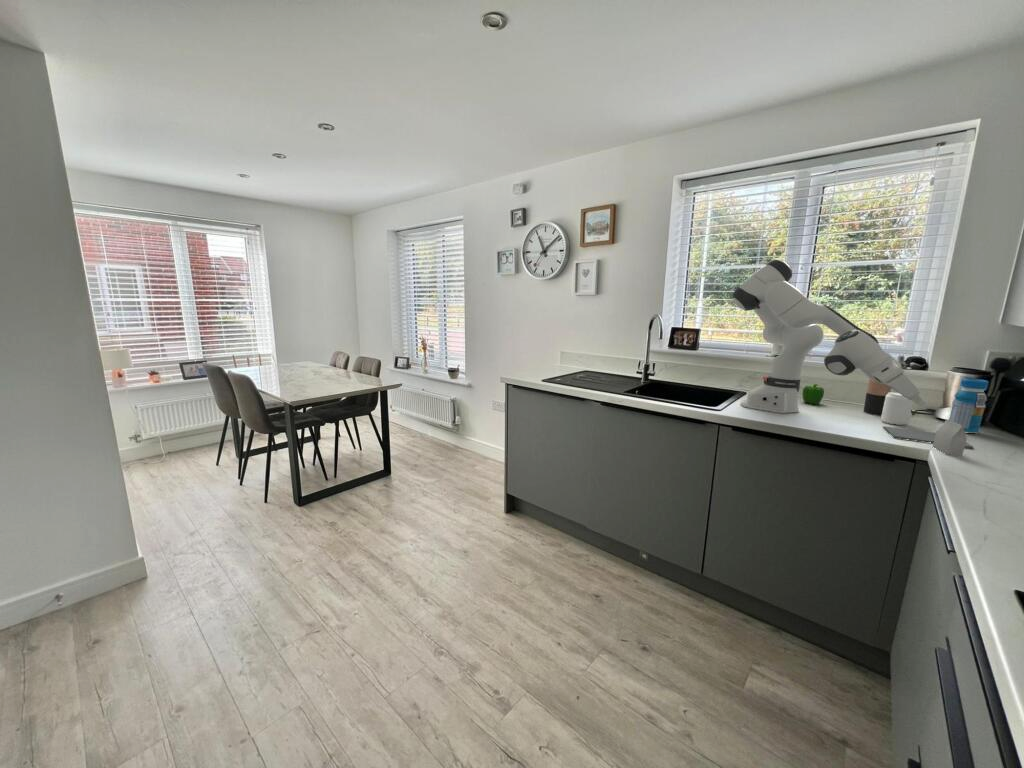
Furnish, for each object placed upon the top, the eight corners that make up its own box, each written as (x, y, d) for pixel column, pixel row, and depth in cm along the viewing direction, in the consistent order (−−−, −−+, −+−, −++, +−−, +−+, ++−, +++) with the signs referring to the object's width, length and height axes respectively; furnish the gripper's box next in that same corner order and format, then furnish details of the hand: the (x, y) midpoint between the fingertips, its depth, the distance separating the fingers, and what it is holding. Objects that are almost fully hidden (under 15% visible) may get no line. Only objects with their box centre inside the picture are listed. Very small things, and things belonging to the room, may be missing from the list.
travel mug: (866, 414, 178) (876, 368, 173) (859, 409, 184) (868, 366, 180) (888, 416, 175) (898, 370, 171) (880, 411, 182) (890, 367, 178)
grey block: (947, 455, 130) (955, 425, 128) (932, 448, 136) (939, 419, 134) (962, 456, 129) (969, 426, 127) (945, 449, 135) (953, 420, 133)
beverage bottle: (947, 431, 155) (960, 379, 151) (944, 426, 162) (957, 376, 157) (980, 436, 150) (994, 382, 146) (976, 430, 156) (989, 379, 152)
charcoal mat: (893, 438, 145) (894, 436, 145) (882, 428, 157) (883, 426, 157) (973, 449, 136) (973, 446, 135) (954, 437, 148) (955, 435, 147)
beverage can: (913, 426, 160) (919, 397, 157) (889, 425, 161) (895, 395, 159) (898, 421, 168) (904, 392, 165) (875, 419, 169) (881, 391, 167)
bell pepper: (801, 400, 201) (805, 380, 199) (822, 403, 196) (826, 382, 194) (800, 403, 195) (803, 382, 193) (821, 406, 190) (825, 385, 188)
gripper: (866, 371, 146) (897, 400, 143) (880, 380, 129) (916, 414, 126) (884, 359, 143) (917, 389, 140) (902, 367, 126) (939, 402, 123)
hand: (917, 401), depth 133 cm, fingers open, 8 cm apart
